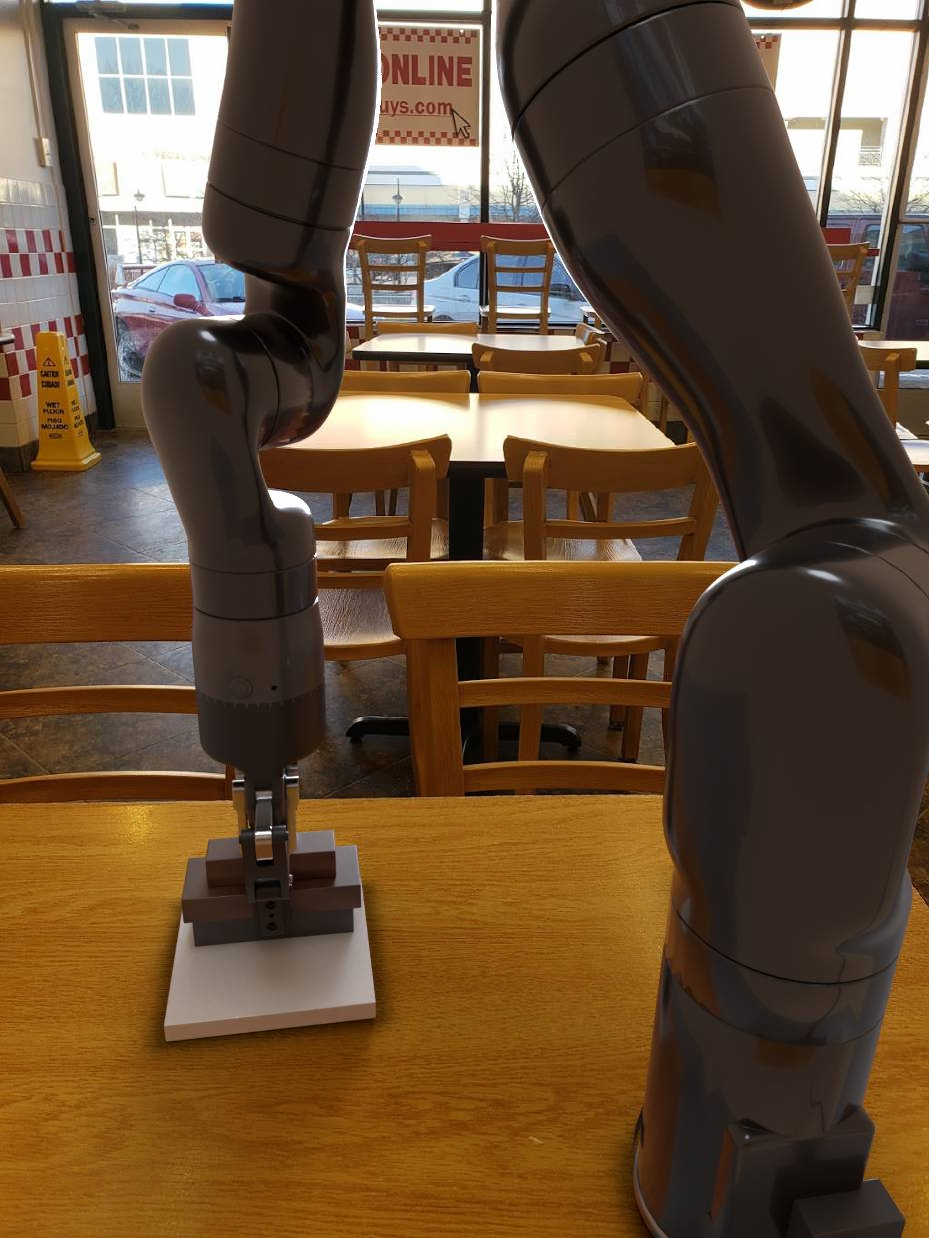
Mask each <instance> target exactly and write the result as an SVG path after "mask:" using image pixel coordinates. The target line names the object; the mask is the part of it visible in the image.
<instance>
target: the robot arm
mask: <svg viewBox="0 0 929 1238" xmlns="http://www.w3.org/2000/svg"><path fill="white" fill-rule="evenodd" d="M377 18H378V17H377V6H376V0H233V5H232V15H231V24H230V25H231V27H230V33H229V34H230V35H229V41H228V49H227V57H226V64H225V71H224V72H225V73H224V77H223V82H222V89H221V96H220V101H219V106H218V112H217V119H216V123H215V128H214V135H213V141H212V146H211V152H210V153H211V154H210V158H209V164H208V170H207V181H206V182H205V188H204V189H205V190H204V193H203V194H204V195H203V202H202V210H201V232H202V233H201V234H202V237H203V240H204V242H205V244H206V246H207V248H208V249H209V251H210V252H211V253H212V254H213V256H214V257H216V258H217V259H218V260H219V261H221V262H222V263H223V264H225V265H227V267H230V268H232V269H233V270H235V271H237V272H240V273H242V274H244V285H245V300H244V301H245V302H244V307H243V311H242V314H236V315H235V314H234V315H217V316H199V317H188V318H184V319H180V320H178V321H175V322H172V323H170V324H168V325H167V326H165V328H163V329H162V330H161V331H159V333H158V334H157V335H156V336H155V337H154V339H153V341H152V342H151V344H150V345H149V348H148V350H147V353H146V355H145V358H144V361H143V365H142V369H141V375H140V384H139V385H140V387H139V388H140V389H139V390H140V405H141V411H142V415H143V419H144V423H145V426H146V429H147V432H148V435H149V439H150V441H151V443H152V446H153V449H154V452H155V454H156V456H157V459H158V462H159V464H160V467H161V470H162V472H163V475H164V477H165V480H166V483H167V486H168V489H169V492H170V494H171V497H172V500H173V503H174V506H175V508H176V511H177V513H178V516H179V518H180V521H181V523H182V526H183V528H184V531H185V532H184V533H185V534H186V535H185V536H186V538H187V553H188V554H187V555H188V564H189V566H188V567H189V576H190V589H191V599H192V618H191V619H192V620H191V621H192V622H191V635H190V636H191V653H192V655H191V656H192V664H193V666H192V667H193V678H194V688H195V700H196V701H195V703H196V712H197V722H198V723H197V724H198V734H199V743H200V746H201V749H202V750H203V751H204V753H205V754H206V755H207V756H208V757H209V758H211V760H213V761H215V762H217V763H219V764H222V765H224V766H229V767H232V768H234V779H233V780H232V781H231V795H232V799H231V800H232V808H233V810H234V811H235V812H236V813H237V835H238V836H237V837H239V852H240V854H241V855H242V857H243V866H244V875H245V883H246V888H245V897H247V901H248V903H249V902H253V909H254V923H255V934H256V936H257V937H258V938H261V939H265V938H276V937H285V936H287V935H289V934H290V932H291V911H290V893H292V884H290V883H293V876H292V875H290V859H289V856H290V854H292V853H293V852H295V850H296V848H297V833H298V830H297V829H298V828H297V811H298V806H299V804H300V762H301V761H302V760H305V759H306V758H309V756H311V755H312V754H314V753H315V752H316V751H318V749H319V748H320V747H321V746H322V745H323V744H324V741H325V740H326V737H327V733H328V731H327V730H328V728H327V727H328V725H327V695H326V666H325V665H326V663H325V662H326V661H325V639H324V637H325V636H324V627H323V622H322V621H323V620H322V615H321V611H320V603H319V583H318V581H319V580H318V560H317V559H318V553H317V538H316V527H315V519H314V516H313V512H312V511H311V509H310V507H309V505H308V504H307V503H306V502H305V500H303V499H302V498H300V497H299V496H296V495H294V494H291V493H289V492H285V491H282V490H274V489H268V486H267V483H266V481H265V477H264V474H263V471H262V467H261V462H260V455H259V452H263V451H268V450H273V449H278V448H280V447H281V448H282V447H286V446H290V445H293V444H297V443H301V442H302V441H305V440H306V439H308V438H310V437H312V436H313V435H314V434H315V433H316V432H317V431H318V430H320V429H321V428H322V426H323V425H324V423H325V422H326V421H327V420H328V417H329V416H330V414H331V412H332V411H333V409H334V407H335V405H336V402H337V400H338V398H339V394H340V391H341V389H342V384H343V381H344V380H343V379H344V373H345V363H346V339H347V338H346V334H347V333H346V332H347V327H346V326H347V300H348V299H347V298H348V297H347V296H348V295H347V275H346V274H347V272H346V256H347V251H348V247H349V243H350V242H351V237H352V234H353V231H354V226H355V222H356V218H357V214H358V210H359V207H360V203H361V198H362V194H363V190H364V187H365V183H366V179H367V174H368V169H369V167H370V162H371V158H372V153H373V149H374V145H375V140H376V133H377V128H378V125H379V124H378V123H379V116H380V115H379V114H380V105H381V88H382V75H381V74H382V73H381V67H382V66H381V65H382V63H381V49H380V38H379V37H380V36H379V29H378V19H377ZM491 47H492V48H491V49H492V63H493V71H494V73H493V74H494V79H495V84H496V90H497V94H498V98H499V102H500V106H501V110H502V113H503V116H504V120H505V124H506V127H507V129H508V133H509V136H510V139H511V142H512V145H513V146H514V148H515V149H514V150H515V153H516V156H517V158H518V160H519V163H520V165H521V168H522V171H523V173H524V176H525V178H526V181H527V184H528V187H529V189H530V192H531V194H532V196H533V199H534V202H535V204H536V207H537V210H538V212H539V215H540V217H541V220H542V222H543V225H544V227H545V229H546V231H547V234H548V236H549V238H550V241H551V242H552V245H553V247H554V249H555V251H556V253H557V255H558V257H559V259H560V261H561V264H563V266H564V269H565V270H566V272H567V273H568V276H569V277H570V278H571V280H572V282H573V284H574V285H575V286H576V287H577V289H578V290H579V292H580V293H581V295H582V296H583V297H584V299H585V300H586V302H587V304H588V305H589V306H590V307H591V309H592V310H593V312H594V313H595V314H596V316H597V317H598V318H599V319H600V321H602V323H603V324H604V325H605V327H606V328H607V329H608V330H609V332H610V333H611V334H612V336H613V337H614V338H615V339H616V340H617V342H618V343H619V344H620V345H621V347H622V348H623V349H624V351H626V353H628V355H629V356H630V357H631V358H632V360H633V361H634V362H635V363H636V364H637V365H638V367H639V368H640V369H641V370H642V371H643V372H644V373H645V375H646V376H647V377H648V378H649V380H651V382H652V384H654V386H655V387H656V388H657V389H658V391H660V393H661V394H662V396H663V397H664V398H665V399H666V400H667V402H668V403H669V404H670V406H671V407H672V409H674V411H675V412H676V414H677V415H678V417H679V418H680V420H681V421H682V423H683V425H684V426H685V427H686V429H687V431H688V432H689V434H690V435H691V438H692V439H693V441H694V443H695V445H696V447H697V449H698V451H699V453H700V455H701V457H702V459H703V462H704V464H705V466H706V468H707V471H708V473H709V475H710V477H711V479H712V482H713V485H714V488H715V491H716V493H717V496H718V499H719V501H720V504H721V507H722V510H723V512H724V516H725V518H726V522H727V525H728V528H729V531H730V534H731V537H732V540H733V544H734V548H735V551H736V555H737V558H738V562H739V564H737V565H735V566H734V567H732V568H730V569H728V570H727V571H726V572H724V573H723V574H721V575H720V576H718V578H716V579H715V580H714V581H713V582H712V583H710V585H709V586H708V587H707V588H706V589H705V590H704V591H703V592H702V594H701V595H700V596H699V597H698V598H697V601H696V602H695V603H694V604H693V607H692V608H691V610H690V612H689V614H688V617H687V619H686V621H685V624H684V626H683V629H682V632H681V635H680V639H679V642H678V646H677V650H676V654H675V659H674V666H673V671H672V678H671V686H670V695H669V705H668V720H667V731H666V733H667V734H666V746H665V747H666V748H665V762H664V763H665V764H664V776H663V790H662V810H661V816H662V817H661V819H662V820H661V821H662V830H663V837H664V840H665V841H664V842H665V846H666V848H667V851H668V854H669V857H670V860H671V862H672V866H673V868H672V876H671V886H670V892H669V893H670V894H669V901H668V908H667V916H666V924H665V925H666V926H665V932H664V940H663V946H662V955H661V961H660V962H661V963H660V971H659V978H658V986H657V992H656V1001H655V1010H654V1018H653V1024H652V1025H653V1027H652V1032H651V1042H650V1049H649V1057H648V1066H647V1072H646V1073H647V1074H646V1081H645V1088H644V1089H645V1090H644V1098H643V1103H642V1106H641V1110H640V1111H639V1115H638V1117H637V1119H636V1123H635V1126H634V1132H633V1141H632V1149H631V1150H632V1152H633V1150H634V1147H635V1145H636V1142H637V1139H638V1136H639V1139H638V1140H639V1142H638V1144H637V1147H636V1150H635V1154H634V1164H633V1173H632V1183H633V1192H634V1197H635V1201H636V1204H637V1207H638V1211H639V1213H640V1215H641V1217H642V1220H643V1222H644V1224H645V1225H646V1227H647V1229H648V1231H649V1232H650V1234H651V1235H652V1236H653V1238H902V1236H903V1233H904V1229H905V1226H906V1222H907V1221H906V1218H905V1217H904V1215H903V1214H902V1212H901V1209H899V1207H898V1206H897V1204H896V1202H895V1201H894V1199H893V1198H892V1196H891V1194H890V1193H889V1192H888V1189H887V1188H886V1187H885V1185H884V1183H883V1182H882V1180H881V1179H880V1177H879V1178H872V1179H866V1180H865V1179H864V1178H865V1173H866V1169H867V1166H868V1161H869V1157H870V1153H871V1149H872V1145H873V1141H874V1137H875V1134H876V1125H875V1123H874V1121H873V1120H872V1118H871V1117H870V1115H869V1114H868V1112H867V1111H866V1109H865V1107H864V1103H865V1099H866V1094H867V1090H868V1086H869V1083H870V1077H871V1073H872V1070H873V1065H874V1061H875V1057H876V1053H877V1049H878V1045H879V1040H880V1036H881V1033H882V1032H881V1031H882V1027H883V1023H884V1019H885V1015H886V1010H887V1006H888V1003H889V999H890V995H891V991H892V987H893V982H894V978H895V975H896V970H897V966H898V962H899V957H900V954H901V949H902V947H903V943H904V939H905V935H906V931H907V926H908V923H909V920H910V919H909V918H910V914H911V911H912V906H913V899H914V898H913V897H914V896H913V895H914V890H913V889H914V888H913V882H912V879H911V875H910V872H909V869H908V867H907V866H908V862H909V858H910V853H911V848H912V843H913V839H914V835H915V830H916V826H917V822H918V816H919V811H920V807H921V802H922V798H923V794H924V790H925V785H926V783H927V777H928V773H929V493H928V492H927V489H926V488H925V486H924V484H923V482H922V479H921V477H920V476H919V474H918V472H917V470H916V468H915V465H914V464H913V462H912V460H911V458H910V456H909V454H908V453H907V450H906V448H905V446H904V444H903V443H902V441H901V439H900V436H899V435H898V433H897V431H896V428H895V427H894V425H893V423H892V420H891V418H890V417H889V415H888V412H887V410H886V408H885V407H884V404H883V402H882V400H881V398H880V396H879V394H878V391H877V389H876V386H875V384H874V382H873V379H872V377H871V375H870V372H869V369H868V366H867V365H866V362H865V360H864V356H863V354H862V351H861V348H860V344H859V342H858V339H857V336H856V332H855V331H854V326H853V324H852V320H851V318H850V314H849V311H848V306H847V304H846V301H845V297H844V294H843V290H842V287H841V285H840V281H839V278H838V274H837V271H836V268H835V265H834V263H833V259H832V255H831V253H830V250H829V247H828V245H827V242H826V239H825V236H824V233H823V230H822V228H821V224H820V221H819V219H818V216H817V213H816V210H815V207H814V205H813V202H812V200H811V197H810V193H809V191H808V189H807V186H806V183H805V180H804V177H803V175H802V172H801V169H800V167H799V163H798V161H797V158H796V155H795V152H794V148H793V146H792V143H791V140H790V136H789V133H788V130H787V127H786V124H785V120H784V117H783V114H782V111H781V108H780V104H779V102H778V99H777V95H776V93H775V90H774V87H773V84H772V82H771V80H770V77H769V75H768V71H767V69H766V66H765V64H764V61H763V58H762V56H761V53H760V50H759V48H758V45H757V43H756V40H755V37H754V34H753V31H752V29H751V27H750V24H749V21H748V18H747V17H746V13H745V10H744V8H743V5H742V3H741V0H492V13H491ZM639 1133H640V1134H639Z"/></svg>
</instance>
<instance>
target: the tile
mask: <svg viewBox="0 0 929 1238" xmlns="http://www.w3.org/2000/svg"><path fill="white" fill-rule="evenodd" d="M360 881H361V908H354V909H353V912H354V932H349V933H338V934H327V935H317V936H306V937H295V938H284V939H273V940H262V941H252V942H241V943H230V944H219V945H208V946H198V947H195V945H194V935H193V925H192V923H184V922H183V914H182V913H181V915H180V921H179V927H178V934H177V941H176V947H175V952H174V960H173V964H172V965H173V966H172V972H171V979H170V984H169V989H168V990H169V991H168V997H167V1003H166V1010H165V1016H164V1023H163V1030H164V1037H165V1042H175V1041H185V1040H193V1039H201V1038H212V1037H220V1036H228V1035H237V1034H245V1033H254V1032H255V1033H256V1032H264V1031H272V1030H280V1029H282V1030H283V1029H291V1028H297V1027H298V1028H299V1027H308V1026H316V1025H325V1024H334V1023H343V1022H351V1021H352V1022H353V1021H361V1020H367V1019H376V1017H377V1008H376V1007H377V1005H376V1003H377V1001H376V994H375V993H376V992H375V988H374V987H375V984H374V975H373V969H372V960H371V952H370V951H371V950H370V944H369V943H370V941H369V934H368V924H367V917H366V909H365V901H364V891H363V884H362V877H361V876H360Z"/></svg>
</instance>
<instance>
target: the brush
mask: <svg viewBox="0 0 929 1238" xmlns="http://www.w3.org/2000/svg"><path fill="white" fill-rule="evenodd" d="M206 846H207V847H206V853H205V856H199V857H198V856H197V857H189V858H188V859H187V865H186V871H185V876H184V882H183V888H182V894H181V900H180V902H181V903H180V904H181V914H183V922H184V923H192V925H193V935H194V945H195V947H198V946H208V945H219V944H230V943H241V942H252V941H262V940H273V939H284V938H295V937H306V936H317V935H327V934H338V933H349V932H354V912H353V909H354V908H361V882H362V880H361V881H360V877H361V873H360V872H361V871H360V863H359V853H358V852H359V851H358V846H357V845H356V844H355V845H341V846H336V837H335V830H334V829H330V830H316V831H315V830H314V831H302V832H297V848H296V850H295V852H293V853H292V854H290V856H289V859H290V875H292V876H293V883H290V884H292V893H290V911H291V932H290V934H289V935H287V936H285V937H276V938H265V939H261V938H258V937H257V936H256V934H255V923H254V909H253V902H249V903H248V901H247V897H245V888H246V883H245V875H244V866H243V857H242V855H241V854H240V852H239V837H238V836H237V837H235V836H233V837H224V838H223V837H222V838H209V839H208V840H207V845H206Z"/></svg>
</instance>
